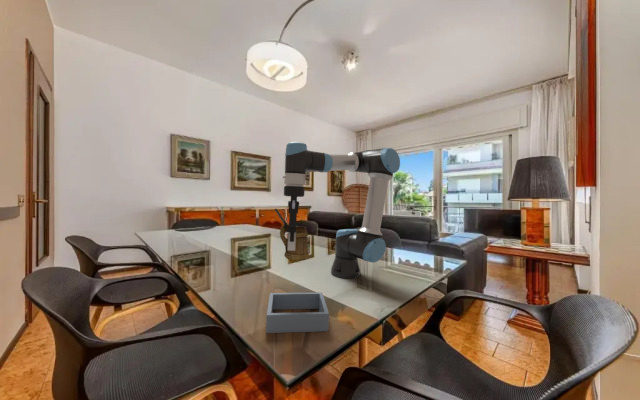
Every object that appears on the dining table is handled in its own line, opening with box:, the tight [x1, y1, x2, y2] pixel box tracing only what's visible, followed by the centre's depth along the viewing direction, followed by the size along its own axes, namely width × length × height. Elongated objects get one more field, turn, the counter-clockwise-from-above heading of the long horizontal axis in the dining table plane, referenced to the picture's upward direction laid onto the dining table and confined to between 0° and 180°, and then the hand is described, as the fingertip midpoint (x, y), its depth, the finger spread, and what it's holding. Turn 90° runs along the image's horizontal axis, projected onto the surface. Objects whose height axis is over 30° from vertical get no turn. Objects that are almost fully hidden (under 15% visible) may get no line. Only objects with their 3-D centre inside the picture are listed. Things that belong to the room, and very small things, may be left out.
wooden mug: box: [274, 208, 310, 261], centre depth 92 cm, size 9×14×18 cm, turn 101°
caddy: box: [265, 291, 330, 334], centre depth 83 cm, size 19×15×6 cm
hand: (291, 247), depth 92 cm, fingers closed on wooden mug, 7 cm apart
